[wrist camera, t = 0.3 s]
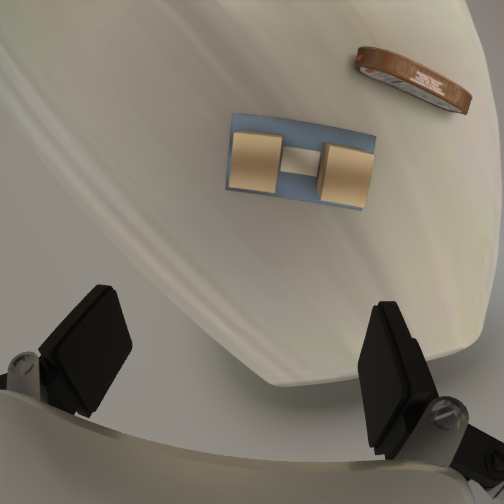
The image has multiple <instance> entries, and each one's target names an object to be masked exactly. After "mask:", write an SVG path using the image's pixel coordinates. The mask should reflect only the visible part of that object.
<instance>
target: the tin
mask: <svg viewBox="0 0 504 504" xmlns="http://www.w3.org/2000/svg"><path fill="white" fill-rule="evenodd" d="M355 66H356V69H357V70H358V71H359V72H361V73H363V74H365V75H367V76H369V77H371V78H373V79H376V80H378V81H381V82H383V83H386V84H388V85H390V86H393V87H395V88H397V89H399V90H402V91H404V92H406V93H408V94H411V95H413V96H415V97H417V98H419V99H422V100H424V101H426V102H428V103H430V104H433V105H435V106H437V107H439V108H442V109H444V110H447V111H450V112H456V113H461V114H464V115H467V113H468V110H469V106H470V102H471V100H472V95H471V94H470V93H469V92H468V91H467V90H465V89H464V88H462V87H461V86H459V85H458V84H456V83H454V82H453V81H451V80H449V79H447V78H445V77H444V76H442V75H440V74H438V73H436V72H434V71H432V70H431V69H429V68H427V67H425V66H423V65H421V64H419V63H417V62H414V61H412V60H410V59H408V58H406V57H404V56H401V55H399V54H396V53H394V52H390V51H388V50H383V49H379V48H374V47H360V48H358V55H357V58H356V63H355Z"/></svg>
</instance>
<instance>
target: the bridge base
mask: <svg viewBox="0 0 504 504" xmlns="http://www.w3.org/2000/svg"><path fill="white" fill-rule="evenodd" d="M375 141H376V136H372V135H368V134H364V133H359V132H355V131H350V130H345V129H340V128H335V127H330V126H324V125H319V124H313V123H307V122H300V121H294V120H287V119H279V118H271V117H263V116H253V115H243V114H232V123H231V134H230V144H229V155H228V167H227V178H226V190H231V191H239V192H247V193H254V194H262V195H269V196H276V197H283V198H289V199H296V200H302V201H309V202H315V203H321V204H327V205H333V206H338V207H344V208H349V209H355V210H360V211H362V208H364V207H365V203H366V198H367V194H368V189H369V184H370V179H371V174H372V169H373V164H374V159H375V155H373V152H374V146H375Z"/></svg>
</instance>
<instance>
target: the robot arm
mask: <svg viewBox="0 0 504 504" xmlns="http://www.w3.org/2000/svg"><path fill="white" fill-rule="evenodd" d="M38 350H39V352H40V354H41V356H40V357H38V356H37V355H36V354H35V353H33V352H23V353H20V354H18V355H17V356H16V357H14V358H13V359H12V361H11V362H10V364H9V367H8V373H6V374H3V375H0V504H504V443H503V442H501V441H499V440H497V439H495V438H493V437H491V436H490V435H488V434H486V433H484V432H483V431H481V430H479V429H477V428H475V427H474V426H472V425H470V424H468V421H469V414H468V410H467V408H466V406H465V405H464V404H463V403H462V402H461V401H459V400H458V399H456V398H453V397H451V396H441V397H439V395H438V392H437V390H436V387H435V384H434V381H433V379H432V376H431V373H430V371H429V368H428V366H427V363H426V361H425V358H424V356H423V353H422V351H421V348H420V346H419V343H418V342H417V340H416V339H415V338H412V337H411V335H410V332H409V330H408V328H407V325H406V323H405V321H404V318H403V316H402V314H401V312H400V309H399V307H398V305H397V303H396V302H395V301H380V302H379V303H378V306H373V309H372V313H371V317H370V321H369V325H368V328H367V332H366V336H365V340H364V343H363V347H362V350H361V354H360V357H359V361H358V374H359V379H360V386H361V391H362V398H363V404H364V411H365V418H366V425H367V433H368V441H369V446H370V447H374V452H375V455H382V454H385V460H377V461H376V460H375V461H351V462H288V461H270V460H258V459H247V458H238V457H231V456H224V455H217V454H210V453H204V452H199V451H194V450H188V449H183V448H179V447H174V446H169V445H165V444H161V443H157V442H153V441H149V440H146V439H142V438H138V437H135V436H132V435H128V434H125V433H122V432H119V431H116V430H112V429H109V428H106V427H103V426H101V425H98V424H95V423H92V422H90V421H87V420H84V419H82V418H79V417H77V416H74V414H75V412H76V411H77V413H78V414H80V415H82V416H85V417H87V418H90V416H91V414H92V412H95V411H96V410H97V408H98V407H99V405H100V403H101V401H102V400H103V398H104V396H105V394H106V393H107V390H108V389H109V387H110V386H111V384H112V382H113V381H114V379H115V377H116V375H117V374H118V372H119V370H120V369H121V367H122V365H123V364H124V362H125V360H126V359H127V357H128V355H129V354H130V352H131V350H132V341H131V338H130V335H129V332H128V329H127V325H126V323H125V319H124V316H123V313H122V309H121V306H120V303H119V299H118V296H117V293H116V291H115V290H113V288H112V286H108V285H96V286H95V287H94V288H93V289H92V290H91V291H90V292H89V293H88V294H87V296H85V297H84V299H83V300H82V301H81V302H80V303H79V304H78V305H77V306H76V307H75V308H74V309H73V310H72V311H71V312H70V313H69V315H68V316H67V317H66V318H65V319H64V320H63V321H62V322H61V323H60V325H59V326H58V327H57V328H56V329H55V330H54V331H53V332H52V334H51V335H50V336H49V337H48V338H47V339H46V340H45V342H44V343H43V344H42V345H41V346H40V348H38Z"/></svg>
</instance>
